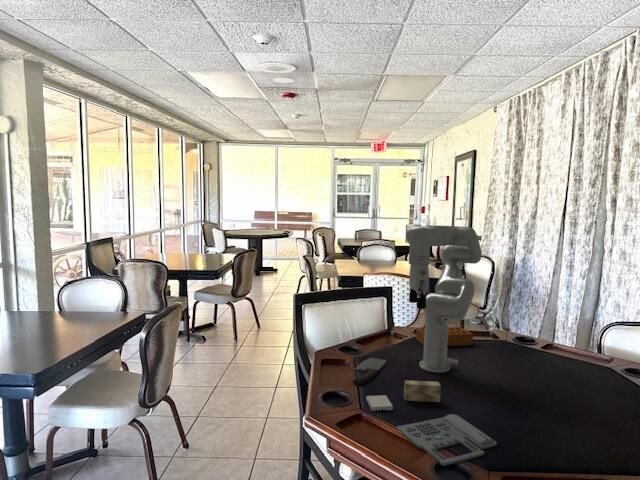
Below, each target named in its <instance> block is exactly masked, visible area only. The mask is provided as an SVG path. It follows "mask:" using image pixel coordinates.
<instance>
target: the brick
mask: <svg viewBox="0 0 640 480" xmlns="http://www.w3.org/2000/svg"><path fill="white" fill-rule="evenodd" d="M415 329H416V330H415V331H416V332H415V333H416V334H415V340H416V341H417V340H418V341H417V342H419V343H420V342H421V343H420V344H422V345H423V346H424V335H425V327H424V328H423V327H419V328H415ZM473 338H474V333H473V332H470V331H468V330H467V329H464V328H463V327H461V326H457V327H456V326H453V327H451V326H448V344H447V347H448V346H449V347H452V346H454V347H455V346H456V347H457V346H473V341H474V340H473Z"/></svg>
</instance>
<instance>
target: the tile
mask: <svg viewBox="0 0 640 480" xmlns="http://www.w3.org/2000/svg"><path fill="white" fill-rule="evenodd" d="M365 398H366V399H365V400H366V402H367V404H368V406H369V408H370V409H371V412H376V410H377V412H380V411H379V410H386V411H393V409H394V406H393V404H392V403H391V401H390V400H389V398H388V396H387V395H385V394H384V395H366V396H365Z"/></svg>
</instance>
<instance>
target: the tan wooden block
mask: <svg viewBox="0 0 640 480" xmlns="http://www.w3.org/2000/svg"><path fill="white" fill-rule="evenodd" d="M403 383H404V384H403V399H404V401H405V402H406V401H410V402H413V401H414V402H427V403H429V402H432V403H441V392H442V391H441V390H442V389H441V387H442V386H441V384H440V382H439V381H431V380H430V381H429V380H428V381H427V380H425V381H424V380H406V379H405V380H404V382H403Z"/></svg>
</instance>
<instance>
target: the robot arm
mask: <svg viewBox="0 0 640 480" xmlns="http://www.w3.org/2000/svg"><path fill="white" fill-rule="evenodd" d="M405 238H406V241H407V242H408V243H409V249H408V250H409V253H408V265H410V267H409V279H408V280H409V281H408V282H409V283H408V284H409V291H408V292H409V293H408V295H409V296H408V298H409V299H408V302H409V303H413V304H414V303H415V304H416V309H417V310H418V309H419V310H420V309H421V310H422V309H423V311H424V328H425V335H424V345H423V358H422V360H420V361H419V363H418V364H419V368H420V369H422V370H424V371H427V372H429V373H437V374H442V373H447V372H449V371H450V370H451V365H458V364H459V360H458V359H453V357H448V346H447V344H448V327H449V325H448V323H447V321H446V319H451V320H456V321H463V319H465V317H466V316H467V313H468V311H469V308H470V306H471V303H472V301H473V300H474V299H473V298H474V295H475V285H474V283H473V281H472V280H470V279H468V278H463V272H462V270H461V268H460V266H459V265H458V264H457V263H462V264H470V265H471V264H478V263H480V261H481V259H482V253H483V252H482V247H481V244H480V240H479V236H478V234H477V232H476V230H475V228H473V227H471V226H460V225H459V226H457V225H455V226H454V225H411V226H409V228H408V229H407V230H406V235H405ZM431 247H442V249H441V259H442V260H441V261H442V262H441V263H442V271H441V274H440V276H439V278H438V280H437V282H436V284H435V288H434V292H431V293H428V292H429V291H430V273H429V272H430V268H429V266H430V255H431Z"/></svg>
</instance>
